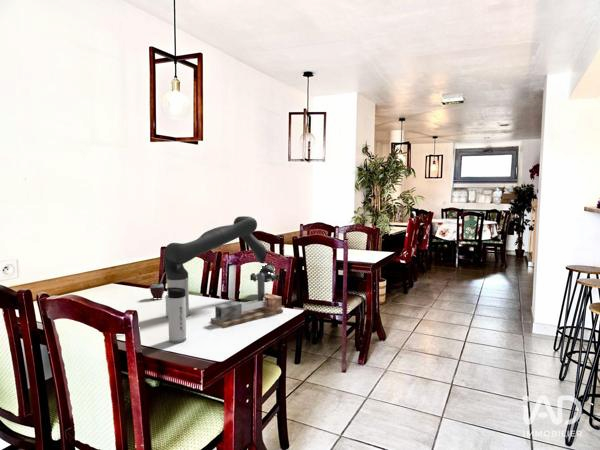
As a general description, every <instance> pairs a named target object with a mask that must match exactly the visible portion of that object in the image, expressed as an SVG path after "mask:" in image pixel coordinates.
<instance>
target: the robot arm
mask: <svg viewBox="0 0 600 450" xmlns="http://www.w3.org/2000/svg"><path fill="white" fill-rule="evenodd" d="M257 228H258V222H257V220H256V219H255V218H254V217H252V216H249V215H248V216H243V215H242V216H237V217H236V218H234V221H233V224H228V225H223V226H218V227H215V228H212V229H209V230H206V231H205V232H203V233H202V234H201V235H200V236H199V237H198V238H197V239H195V240H191V241H189V242H185V243H180V242H171V243H168V244H167V245H166V247H165V249H164V252H163V260H164V271H165V272H166V273H165V272H164V273H165V275H166V282H167V283H166V285H167V286H166V290H167V288H168V287H170V288H173V287H177V288H183V289H185V296H186V297H185V298H186V317H188V316H189V315H190V309H189V308H190V302H189V301H190V300H189V295H190V294H189V293H190V292H189V272H188V271H187V270H186V268H185V267H184V264H186V263H189V261H192V260H193V259H195V258H196V257H199V256H200V255H203V254H205V253H207V252H209V251H212V250H215V249H217V248H220V247H221V246H222V247H223V246H224V245H226V244H228V243H230V242H232V241H235V240H236V239H238V238H241V239H242V240H243V241H244V243H246V245H247V247H248V248H249V249H250V250H251V252H253V253H252V254H253V255H254V256H255V257H256V259H257V261H258V263H259V262H260V264H265V263H264V262H263V261H265V258H266V255H267V253H266V251H267V252H268V249H266V247H265V245H264V244H263V243H262V242H261V241H260V240H259V239H258V238H256V237H255V235H253V233H254V232H255V231H256V229H257ZM261 266H262V265H261ZM274 272H275V271H274V267H273V266H272V265H270V264H267V265H265V266H262V269H260V270H259V272H258V273H257V274H264V278H265V283H269V282H274V281H279V280H280V273H278V272H275V273H274ZM257 274H256V273H255V272H254V273H253V272H252V273H251V274H250V281H253V282H254V283H255V282H257V281H258V275H257ZM165 317H167V318H168V290H167V293H166V295H165Z"/></svg>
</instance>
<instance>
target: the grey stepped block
mask: <svg viewBox="0 0 600 450" xmlns="http://www.w3.org/2000/svg"><path fill="white" fill-rule="evenodd" d="M256 275H258V280H257V299H254V300H251V301H246V302H242V303H241V302H240V304H241V312H244V311H248V310H252V309H257V308H261V307H265V306H268V299H267V298H265V294H266V293H265V292H266V291H265V285H266V284H265V283H266V282H265V278H264V274H258V273H256Z"/></svg>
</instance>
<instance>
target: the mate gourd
mask: <svg viewBox="0 0 600 450" xmlns="http://www.w3.org/2000/svg"><path fill="white" fill-rule="evenodd" d="M165 275H166V272H163V274H162V276H161V280H160V282H157V283H156V282H154V283H152V284H151V285H150V287H149V288H150V289H149V290H150V293H151V296H152V299H153V298H163V295H164V293H165V287H164V286H165V285H164V284H163V282H162V281H163V279H164V277H165Z"/></svg>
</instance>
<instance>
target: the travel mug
mask: <svg viewBox="0 0 600 450" xmlns="http://www.w3.org/2000/svg"><path fill="white" fill-rule="evenodd" d="M166 290H168V317H167V318H168V341H169V343H171V344H181V343H184V342H185V341H186V340H187V316H186V298H185V297H186V296H185V289H183V288H177V287H173V288H170V287H168V288H167V287H166Z"/></svg>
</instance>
